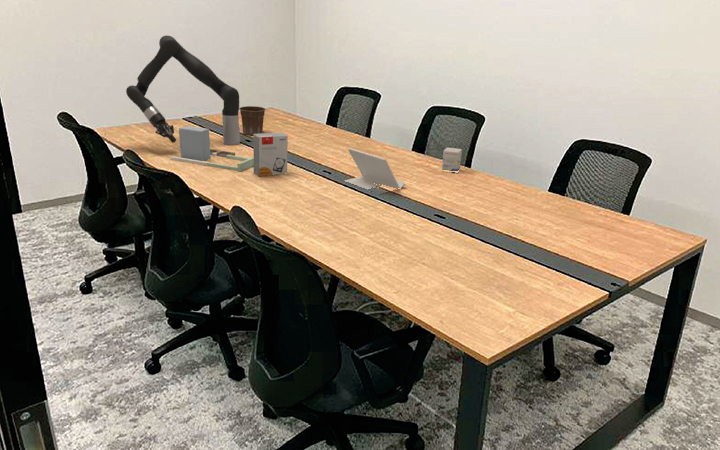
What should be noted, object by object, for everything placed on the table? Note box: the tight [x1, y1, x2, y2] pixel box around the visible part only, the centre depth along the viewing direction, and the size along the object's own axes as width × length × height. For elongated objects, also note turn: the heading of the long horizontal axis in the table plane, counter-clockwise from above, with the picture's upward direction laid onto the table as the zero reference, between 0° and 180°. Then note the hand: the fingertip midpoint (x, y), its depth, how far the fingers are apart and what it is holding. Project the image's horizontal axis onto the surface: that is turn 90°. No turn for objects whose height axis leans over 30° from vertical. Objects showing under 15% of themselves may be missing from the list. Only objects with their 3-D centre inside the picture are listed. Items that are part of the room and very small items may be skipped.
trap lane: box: [169, 148, 254, 173], centre depth 311 cm, size 26×44×4 cm, turn 68°
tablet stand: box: [343, 147, 406, 191], centre depth 280 cm, size 18×25×17 cm
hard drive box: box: [252, 132, 289, 177], centre depth 290 cm, size 16×8×20 cm, turn 117°
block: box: [178, 125, 212, 162], centre depth 311 cm, size 7×14×16 cm, turn 68°
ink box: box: [441, 147, 463, 171], centre depth 309 cm, size 9×8×12 cm
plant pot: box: [239, 105, 266, 136], centre depth 370 cm, size 16×16×16 cm
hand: (174, 141), depth 316 cm, fingers closed
